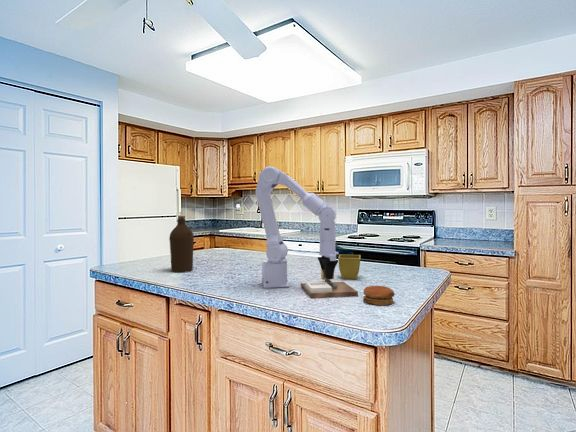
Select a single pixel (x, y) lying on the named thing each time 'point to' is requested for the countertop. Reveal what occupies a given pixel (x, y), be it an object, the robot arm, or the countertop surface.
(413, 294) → the countertop surface
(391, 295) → the burger
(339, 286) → the board
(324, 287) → the cover
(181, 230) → the olive oil
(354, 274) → the flower pot
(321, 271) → the wooden mallet
